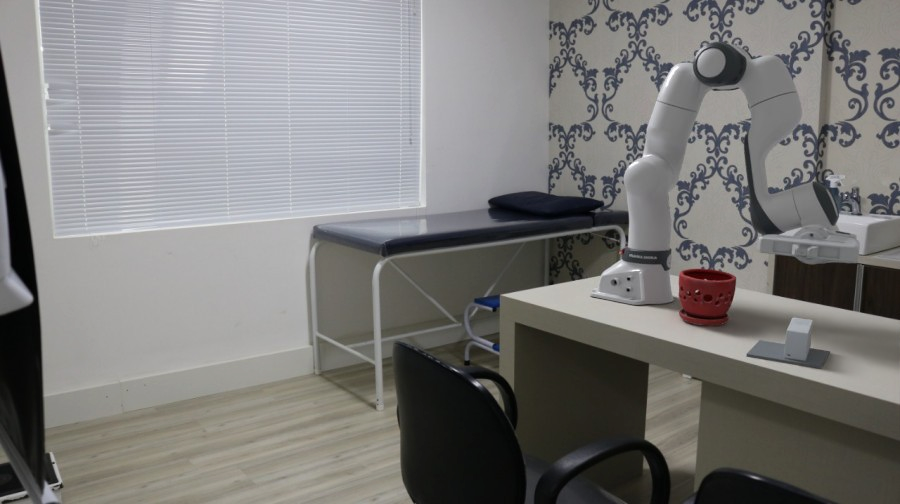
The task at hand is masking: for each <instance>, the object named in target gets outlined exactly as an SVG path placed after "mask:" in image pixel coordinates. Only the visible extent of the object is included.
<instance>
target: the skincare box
mask: <svg viewBox="0 0 900 504" xmlns="http://www.w3.org/2000/svg"><path fill="white" fill-rule="evenodd" d="M813 325H814V319H808V318H807V319H806V318H800V317H792V318H791V320H790V323H789V324H788V327H787V329H786V332H785V342H784V344H785V350H784V358H787V359H794V360H802V361H806V359H807V355H808V352H809V349H810V348H811V347H812V346H811V345H812V344H811V343H812V334H813Z"/></svg>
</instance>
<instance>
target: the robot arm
mask: <svg viewBox="0 0 900 504" xmlns="http://www.w3.org/2000/svg"><path fill="white" fill-rule="evenodd" d="M739 89H740V90H741V92H742V93H743V94H744V96H745V99H746V102H747V105H748V108H749V111H750V116H751V117H750V118H751V119H750V121H751V122H750V126H749V129H748V131H747V132H746V133H745V135H744V139H743V152H744V162H745V165H744V166H745V171H746V179H747V188H748V197H749V219H750V222H751V223H750V224H751V225H752V227H753V229H754V231H755V232H757V233H758V234H760V235H761V236H759V237H758V240H757V252H759V253H761V254H768V255H777V256H785V257H786V256H788V257H795V258H796V259H797V260H798V261H799V262H801V263H803V264H807V265H818V264H827V263H833V264H834V263H835V264H857V263H858V262H859V258H860V257H859V255H860V246H861V245H860V241H859V240H857V239H858V238H857V235H856V234H855V233H850V232H845V231H841V230H840V228H839V227H838V225H837V223H838V221H839V218H840V212H839V208H838V204H837V201H836V199H835V196H834V195H833V193H832V191H831V190H830V188H829V187H827V186H825V184H822V183H820V182H819V181H814V180H813V181H811V182H808V183H807V182H806V183H804V184H799V185H797V186H794V187H791V188H788V189H784V190H782V191H778V192H776V193H770V192H769V186H768V180H767V179H768V178H767V170H766V161H767V160H766V159H767V157H768V155H769V153H770V152H771V150H773V149H774V148H775V147H776V146H777V145H779V144H780V143H781V142H783V140H785V139H786V138H787V137H789V135H791V134H792V133H793V132H794V131H795V129H797V127H798V126H799V124H800V122H801V120H802V117H803V110H802V109H803V108H802V103H801V98H800V96H799V93H798V91H797V87H796V84H795V83H794V79H793V78H792V75H791V73H790V72H789V70H788V68H787V66H786V64H785V63H784V61H783V60H782V58H780V57H778V56H777V55H771V54H770V55H763V56H760V57H757V58H754V57H753V56H752V54H751V53H750V52H749V51H748V50H746V49H744V48H743V47H741V46H739V45H736V44H733V43H727V42H723V41H714V42H710V43H707V44H705V45H704V46H702V47H701V48H700V49H698V51H697V52H696V54H695V56H694V57H693V62H687V61H686V62H680V63H677V64H676V63H675V65H673V66H672V67H671V68H670V70H669V72H668V74H667V75H666V78H665V80H664V81H663V84H662V86H661V88H660V90H659V92H658V95H657V98H656V101H655V105H654V106H653V108H652V113H651V115H650V119H649V121H648V124H647V127H646V137H645V143H644V147H643V154H642V157H640V158H636V159H635V160H633V161H632V162H631V163H630V164H629V165H628V167H627V169H626V170H625V172H624V174H623V184H624V185H623V186H624V187H625V193H626V202H627V208H628V211H627V212H628V239H627V240H628V242H627V244H628V245H626V246H625V247H624V248H621V250H619V254H618V255H620V257H621V258H620V260H618V261H617V262H615V263H614V264H612V265H611V266H609V267H608V268H606V269H605V270H603V272H602V273H601V275H600V278H599V281H598V285H597V286H596V287H594V288H592V289H591V290H590V291H589V297H594V298H598V299H603V300H607V301H612V302H618V303H619V302H620V303H622V304H623V303H624V304H628V305H634V306H641V305H658V304H659V305H661V304H667V303H672V302H673V301H674V295H673V291H672V285H671V274H670V273H671V269H672V260H673V258H672V257H673V256H672V248H671V235H672V234H671V233H672V217H671V213H670V205H669V204H670V202H669V192H671V191H672V190H674V188H675V187H676V186H677V184H678V181H679V178H680V175H681V170H682V168H683V167H682V166H683V164H684V159H685V156H686V152H687V146H688V142H689V140H690V136H691V133H692V131H693V128H694V125H695V123H696V120H697V117H698V114H699V112H700V108H701V106H702V103H703V100H704V98H705V96H706V95H707V94H708V93H709V92H710V91H714V92H719V91H725V92H727V91H729V92H730V91H735V90H739ZM799 228H800V229H799ZM797 229H798V230H797ZM794 230H797V231H796V232H795V233H794V234H793V235H786V234H785V235H784V233H786V232H789V231H794Z"/></svg>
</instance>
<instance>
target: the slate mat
mask: <svg viewBox="0 0 900 504" xmlns="http://www.w3.org/2000/svg"><path fill="white" fill-rule="evenodd" d="M784 350H785V343H781V342H775V341H769V340H768V341H767V340H761V339H760V340H758V341H757V342H756V343H755V345H753V347H751V348H750V349H749V350H748V352H747V353H745V354H746V357H749V358H756V359H761V360H766V361H767V360H768V361H773V362H778V363H785V364H790V363H791V365H796V364H797V365H798V366H802V365H803V366H802V367H809V368H815V369H822V367H823V365H824V364H825V362H826V361H827V358H829V355H830V353H831V351H830V350H825V349H818V348H814V347H813V348H811V347H810V349H809V352H808V355H807V359H806V361H802V360H794V359H787V358H784Z"/></svg>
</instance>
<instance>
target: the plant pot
mask: <svg viewBox="0 0 900 504" xmlns="http://www.w3.org/2000/svg"><path fill="white" fill-rule="evenodd" d="M736 286H737V277H736V275H734V274H733V273H730V272H726V271H721V270H717V269H709V268H708V269H707V268H688V269H682V270H681V271H680V272H679V275H678V298H679V304H680V306H681V309H679V310H678V315H679V317H680V318H681V319H682V320H683V321H685V322H687V323H689V324H692V325H696V326H697V325H698V326H706V327H709V326H710V327H711V326H712V327H713V326H720V325H723V324H725V323H726V322H728V321H729V317H730V316H729V314H728V312H729V310H730V308H731V306H732V304H733V302H734V301H733V300H734V297H735V294H736V293H735V292H736Z"/></svg>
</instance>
